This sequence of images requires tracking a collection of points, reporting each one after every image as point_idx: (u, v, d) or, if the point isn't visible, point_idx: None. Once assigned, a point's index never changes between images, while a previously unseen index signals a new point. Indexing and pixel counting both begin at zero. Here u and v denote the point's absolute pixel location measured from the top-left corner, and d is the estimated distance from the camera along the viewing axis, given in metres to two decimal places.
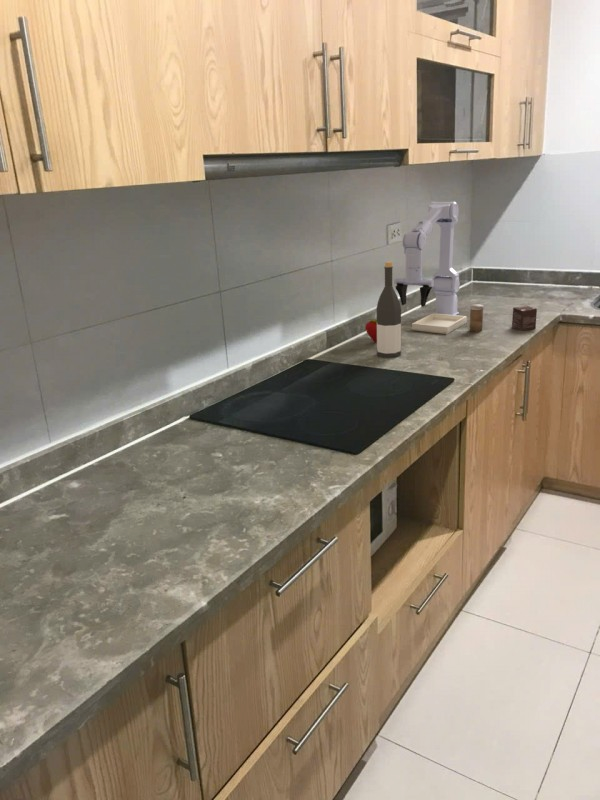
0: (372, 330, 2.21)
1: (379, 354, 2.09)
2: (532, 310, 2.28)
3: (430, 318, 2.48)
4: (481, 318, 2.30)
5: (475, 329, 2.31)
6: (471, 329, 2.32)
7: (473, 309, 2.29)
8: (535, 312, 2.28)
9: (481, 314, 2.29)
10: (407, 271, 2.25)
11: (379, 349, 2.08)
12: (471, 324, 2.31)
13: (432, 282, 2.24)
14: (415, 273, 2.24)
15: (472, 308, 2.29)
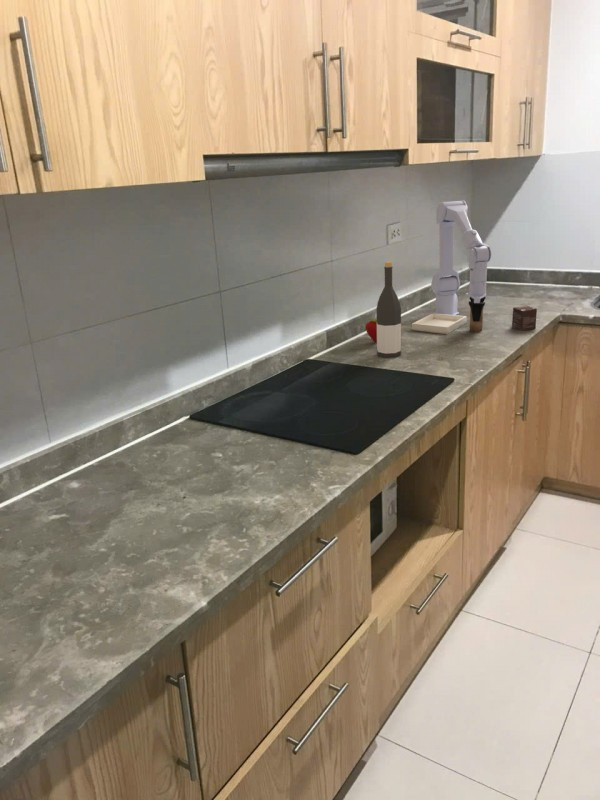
0: (372, 330, 2.21)
1: (379, 354, 2.09)
2: (532, 310, 2.28)
3: (430, 318, 2.48)
4: (481, 318, 2.30)
5: (475, 329, 2.31)
6: (471, 329, 2.32)
7: None
8: (535, 312, 2.28)
9: (481, 314, 2.29)
10: None
11: (379, 349, 2.08)
12: (471, 324, 2.31)
13: (476, 299, 2.22)
14: (470, 286, 2.26)
15: None
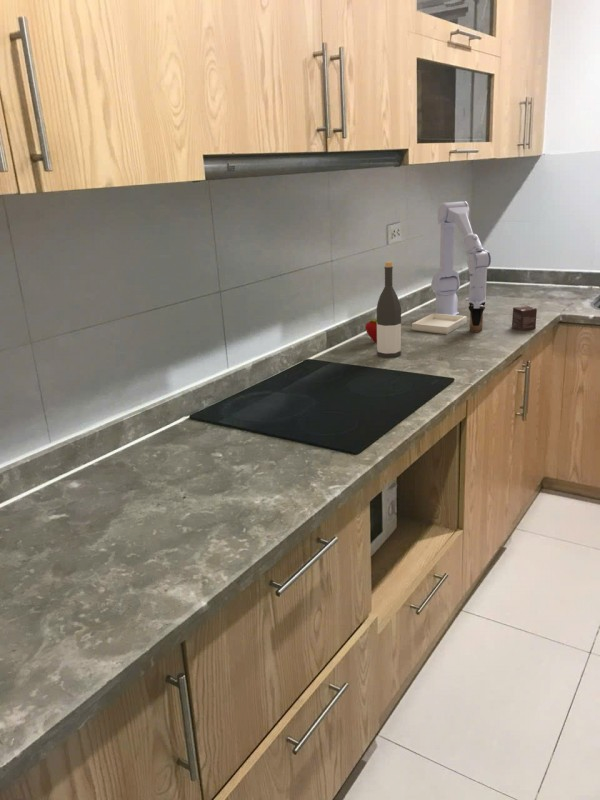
0: (372, 330, 2.21)
1: (379, 354, 2.09)
2: (532, 310, 2.28)
3: (430, 318, 2.48)
4: (481, 318, 2.30)
5: (475, 329, 2.31)
6: (471, 329, 2.32)
7: None
8: (535, 312, 2.28)
9: None
10: None
11: (379, 349, 2.08)
12: (471, 324, 2.31)
13: (476, 304, 2.23)
14: (470, 292, 2.27)
15: None
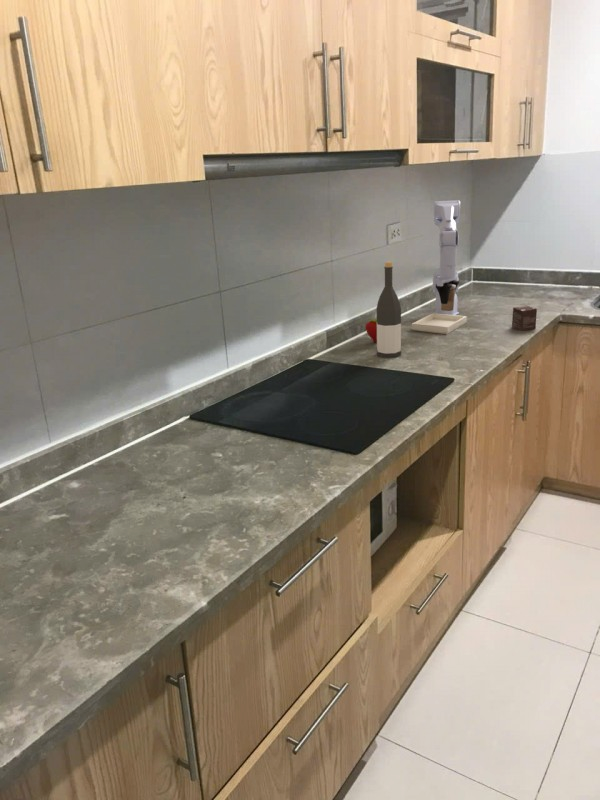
0: (372, 330, 2.21)
1: (379, 354, 2.09)
2: (532, 310, 2.28)
3: (430, 318, 2.48)
4: (451, 298, 2.33)
5: (444, 307, 2.35)
6: (441, 307, 2.36)
7: None
8: (535, 312, 2.28)
9: (451, 294, 2.33)
10: None
11: (379, 349, 2.08)
12: None
13: (439, 282, 2.27)
14: (440, 270, 2.32)
15: None
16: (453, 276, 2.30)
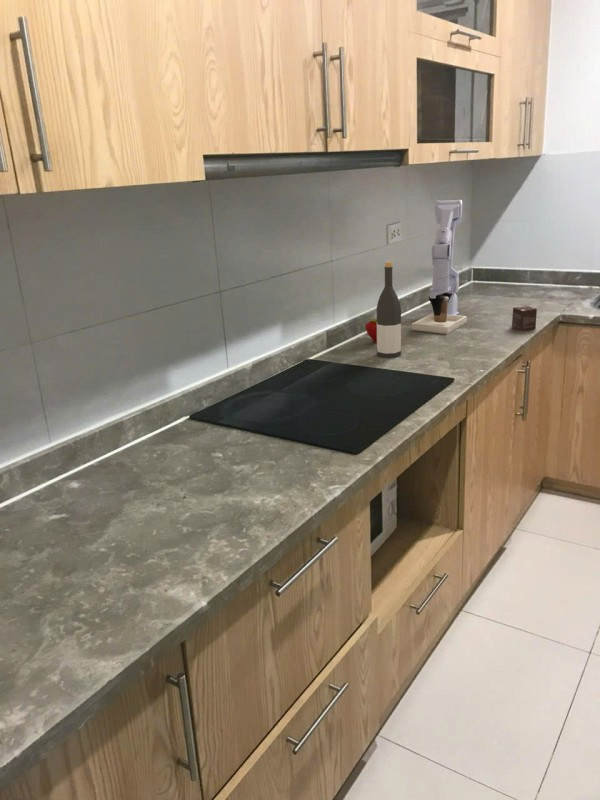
0: (372, 330, 2.21)
1: (379, 354, 2.09)
2: (532, 310, 2.28)
3: (430, 318, 2.48)
4: (444, 310, 2.36)
5: (437, 319, 2.38)
6: (434, 319, 2.39)
7: None
8: (535, 312, 2.28)
9: (444, 306, 2.36)
10: None
11: (379, 349, 2.08)
12: None
13: (431, 294, 2.31)
14: (432, 282, 2.35)
15: None
16: (446, 288, 2.33)
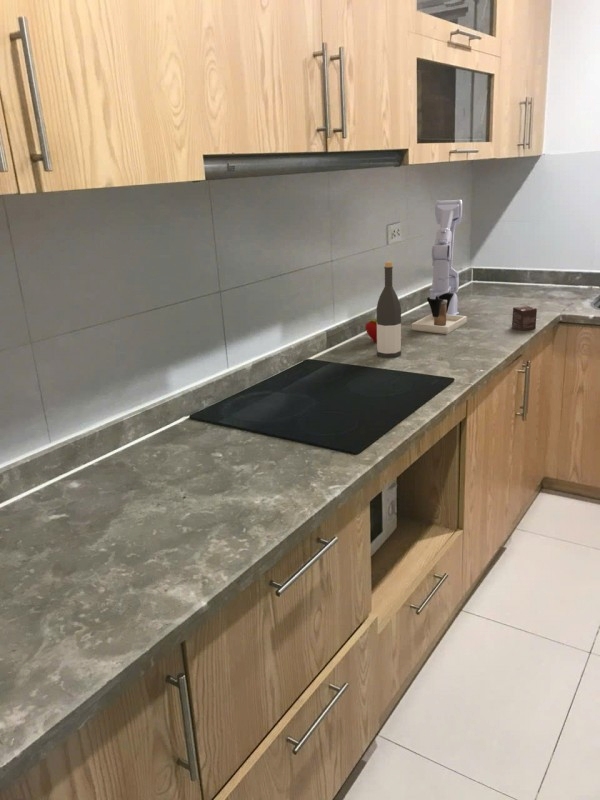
0: (372, 330, 2.21)
1: (379, 354, 2.09)
2: (532, 310, 2.28)
3: (430, 318, 2.48)
4: (443, 312, 2.37)
5: (437, 322, 2.38)
6: (434, 323, 2.40)
7: None
8: (535, 312, 2.28)
9: (443, 308, 2.37)
10: None
11: (379, 349, 2.08)
12: (434, 318, 2.39)
13: (431, 295, 2.31)
14: (432, 283, 2.35)
15: None
16: (446, 289, 2.33)
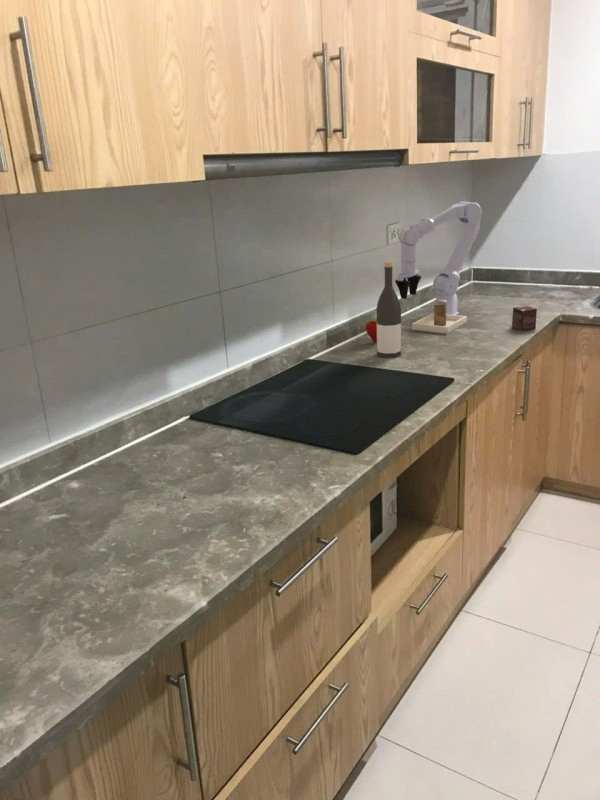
0: (372, 330, 2.21)
1: (379, 354, 2.09)
2: (532, 310, 2.28)
3: (430, 318, 2.48)
4: (443, 313, 2.37)
5: (437, 323, 2.38)
6: (434, 323, 2.40)
7: (435, 304, 2.37)
8: (535, 312, 2.28)
9: (443, 309, 2.36)
10: None
11: (379, 349, 2.08)
12: (434, 318, 2.39)
13: (399, 277, 2.40)
14: (401, 265, 2.45)
15: (434, 303, 2.37)
16: (413, 271, 2.43)
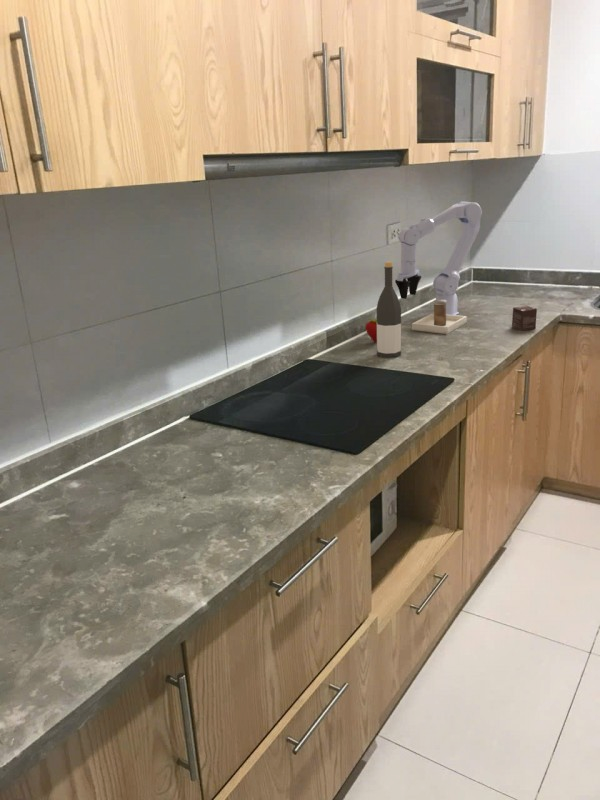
0: (372, 330, 2.21)
1: (379, 354, 2.09)
2: (532, 310, 2.28)
3: (430, 318, 2.48)
4: (443, 313, 2.37)
5: (437, 323, 2.38)
6: (434, 323, 2.40)
7: (435, 304, 2.37)
8: (535, 312, 2.28)
9: (443, 309, 2.36)
10: None
11: (379, 349, 2.08)
12: (434, 318, 2.39)
13: (399, 277, 2.40)
14: (401, 265, 2.45)
15: (434, 303, 2.37)
16: (413, 271, 2.43)
